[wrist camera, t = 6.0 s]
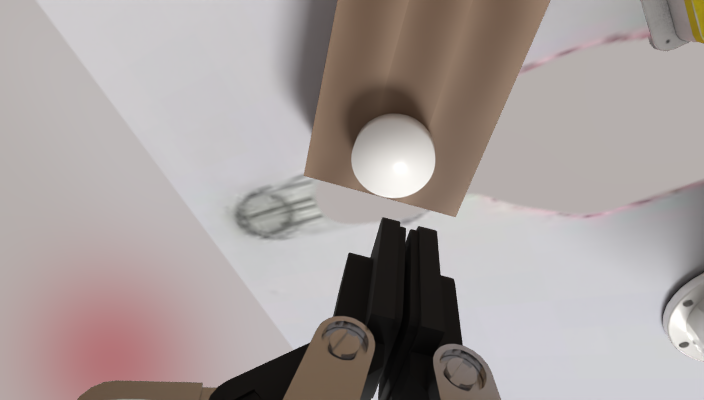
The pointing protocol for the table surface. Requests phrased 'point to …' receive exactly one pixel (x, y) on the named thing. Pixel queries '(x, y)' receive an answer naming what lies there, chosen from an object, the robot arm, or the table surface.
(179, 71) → the table surface
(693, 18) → the emergency button
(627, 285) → the table surface
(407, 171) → the white glossy ovoid
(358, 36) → the press console
